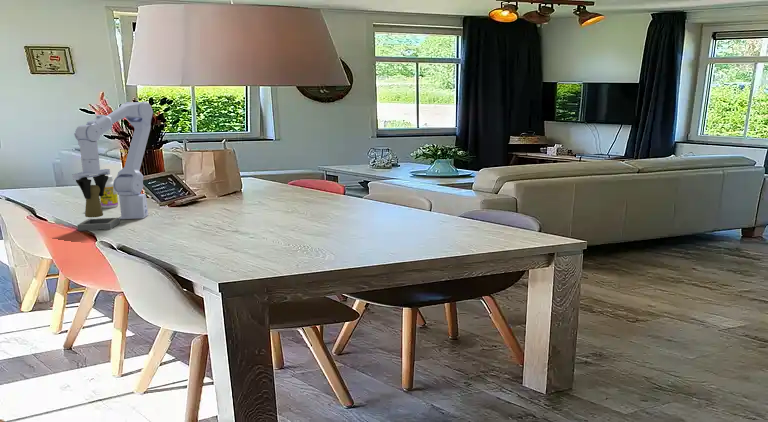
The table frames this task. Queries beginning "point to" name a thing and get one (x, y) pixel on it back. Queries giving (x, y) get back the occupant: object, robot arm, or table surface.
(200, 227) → the table surface
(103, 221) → the socket holder
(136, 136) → the robot arm
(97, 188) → the cork
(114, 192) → the supplement bottle
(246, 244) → the table surface
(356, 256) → the table surface
